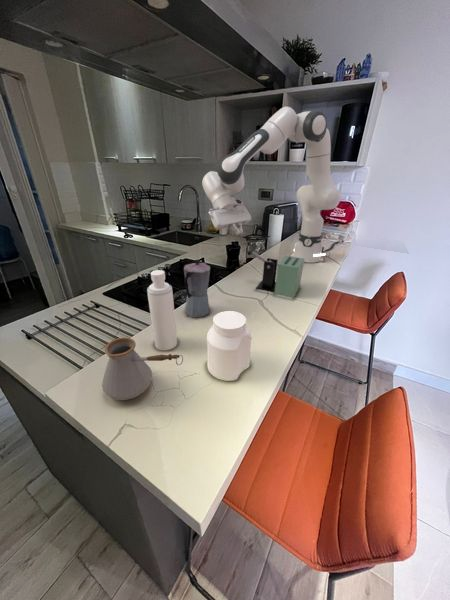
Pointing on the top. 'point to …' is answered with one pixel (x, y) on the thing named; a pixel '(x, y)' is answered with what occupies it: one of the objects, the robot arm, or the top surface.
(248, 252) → the lever
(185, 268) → the moka pot
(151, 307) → the white bottle
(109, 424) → the top surface
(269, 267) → the lever bracket
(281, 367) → the top surface
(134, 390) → the coffee pot
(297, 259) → the toaster body
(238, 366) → the jar
